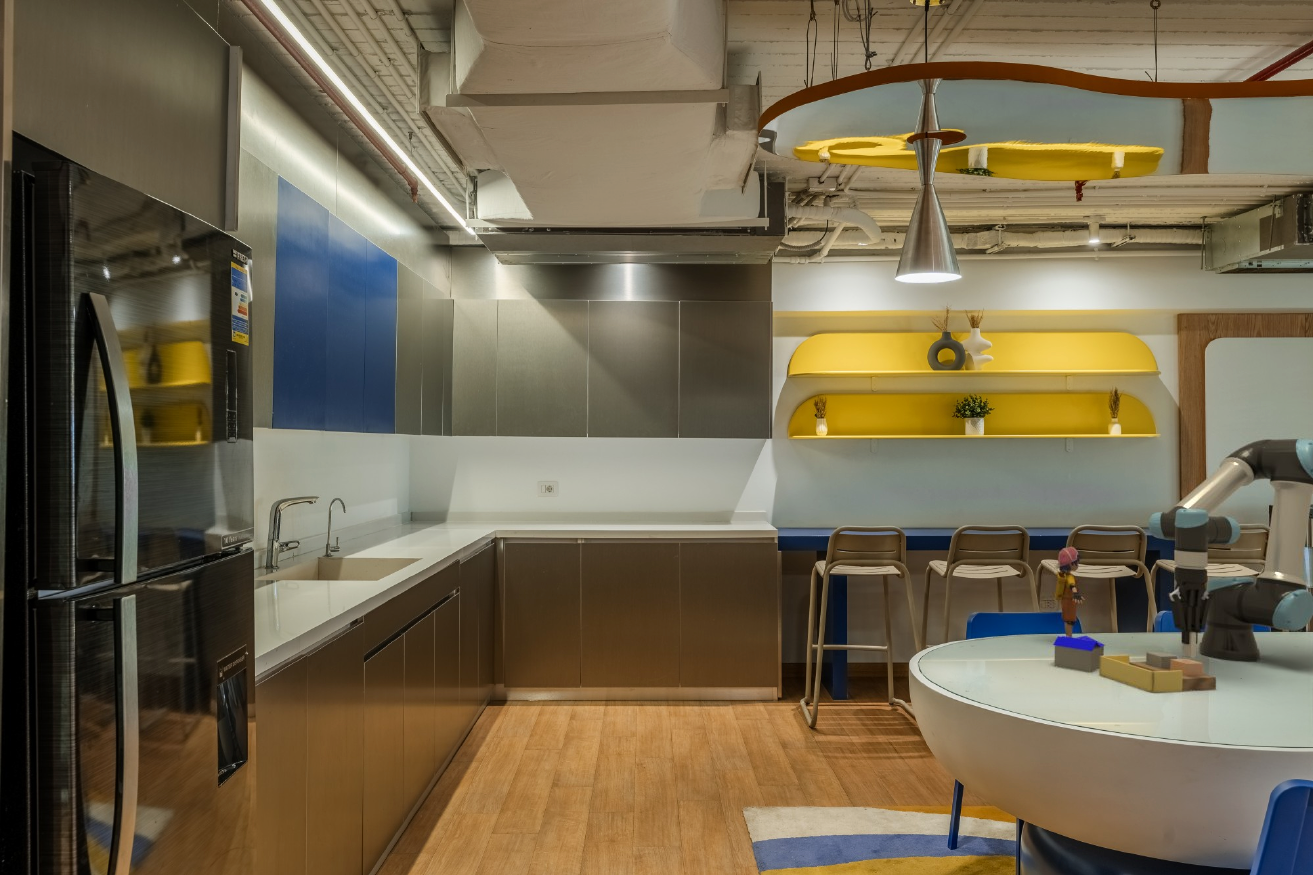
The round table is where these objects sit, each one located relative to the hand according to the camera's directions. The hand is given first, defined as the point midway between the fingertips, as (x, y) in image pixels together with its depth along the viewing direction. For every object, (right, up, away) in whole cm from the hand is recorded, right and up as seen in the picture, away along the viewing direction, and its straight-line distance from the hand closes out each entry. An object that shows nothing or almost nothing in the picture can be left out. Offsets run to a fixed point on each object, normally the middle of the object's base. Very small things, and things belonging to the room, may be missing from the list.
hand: (1189, 656), depth 239 cm
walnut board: (-9, -5, -6) cm, 12 cm away
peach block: (-7, -2, -10) cm, 12 cm away
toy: (-15, -6, +39) cm, 42 cm away
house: (-25, -5, +9) cm, 27 cm away
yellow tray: (-18, -5, -9) cm, 20 cm away
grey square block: (-9, -2, -2) cm, 9 cm away
